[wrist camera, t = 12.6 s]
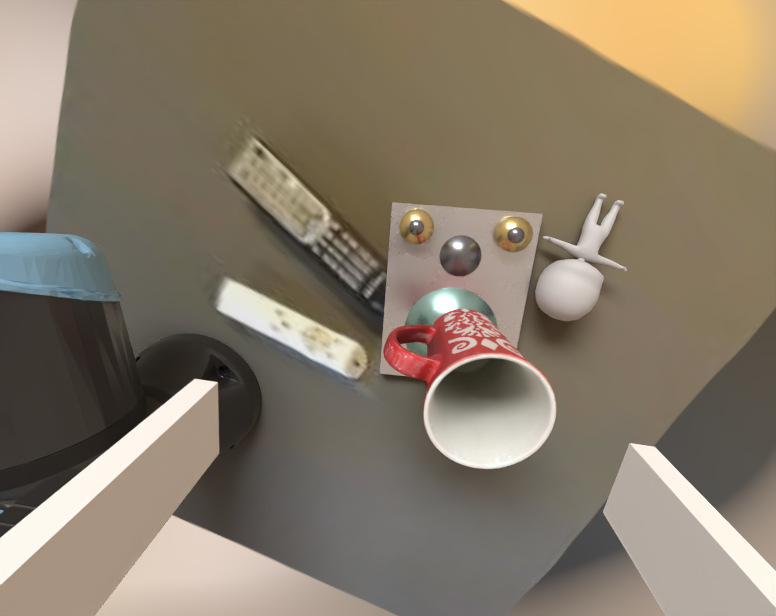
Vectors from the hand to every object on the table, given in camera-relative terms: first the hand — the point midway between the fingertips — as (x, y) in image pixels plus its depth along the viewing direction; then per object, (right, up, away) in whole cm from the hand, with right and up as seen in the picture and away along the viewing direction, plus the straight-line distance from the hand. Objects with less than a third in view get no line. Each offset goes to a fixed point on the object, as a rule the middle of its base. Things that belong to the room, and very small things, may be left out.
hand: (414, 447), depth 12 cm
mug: (+5, +2, +26) cm, 26 cm away
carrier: (+6, +6, +26) cm, 27 cm away
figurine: (+20, +15, +22) cm, 33 cm away
